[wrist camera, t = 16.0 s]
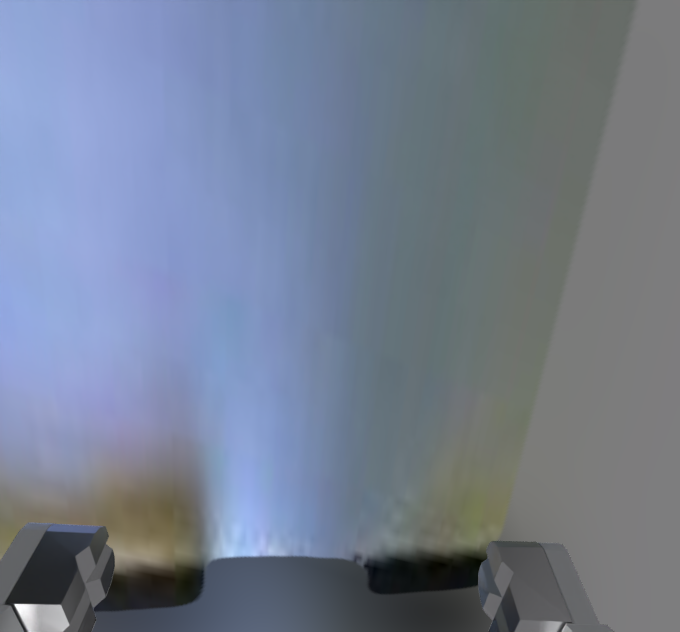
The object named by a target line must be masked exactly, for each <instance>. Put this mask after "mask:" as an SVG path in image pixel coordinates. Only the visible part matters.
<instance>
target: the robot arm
mask: <svg viewBox="0 0 680 632" xmlns="http://www.w3.org/2000/svg"><path fill="white" fill-rule="evenodd" d="M108 537H109V535H108V532H107V529H106V527H105V526H87V525H65V524H53V523H27V524H26V525H25V526H24V527H23V528H22V529H21V530H20V531H19V532H18V534H17V535H16V537H15V539H14V540H13V542H12V543H11V545H10V547H9V548H8V550H7V551H6V553H5V555H4V556H3V558H2V559H1V561H0V632H92V629H93V627H94V624H95V622H96V616H95V612H94V607H95V606H96V605H97V604H98V603H99V602H100V601H102V600H103V599H104V598H105V597H106V595H107V592H108V589H109V587H110V584H111V581H112V576H113V572H114V567H115V559H114V553H113V549H112V548H110V547H109V546H108V545H106V542H107V539H108ZM486 552H487V555H488V559H487V560H486V561H484V562H482V563H481V567H480V570H479V576H478V588H479V595H480V600H481V604H482V609H483V610H484V612H486V614H487V615H488V616H489V617H490V618H491V619H492V624H491V626H490V629H489V631H488V632H614V631H613V630H612V629H611V628H610V627H609V626H608V625H604V624H600V623H599V621H598V618H597V616H596V614H595V612H594V610H593V607H592V605H591V602H590V600H589V598H588V596H587V594H586V591H585V589H584V587H583V584H582V582H581V580H580V578H579V575H578V573H577V571H576V569H575V566H574V564H573V562H572V560H571V557H570V555H569V553H568V551H567V549H566V548H565V547H564V545H563V544H559V543H537V542H517V541H516V542H514V541H513V542H512V541H492V542H490V543H489V545H488V547H487V550H486Z"/></svg>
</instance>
